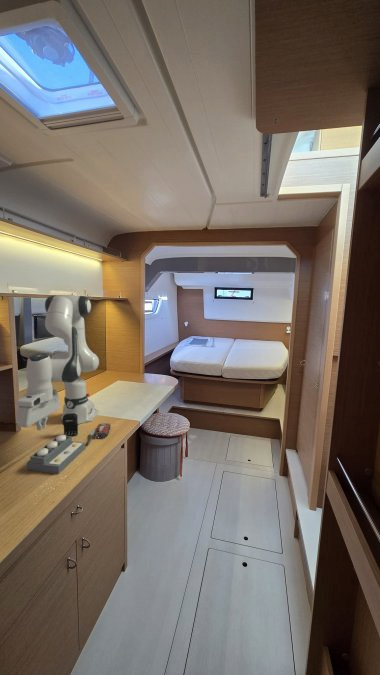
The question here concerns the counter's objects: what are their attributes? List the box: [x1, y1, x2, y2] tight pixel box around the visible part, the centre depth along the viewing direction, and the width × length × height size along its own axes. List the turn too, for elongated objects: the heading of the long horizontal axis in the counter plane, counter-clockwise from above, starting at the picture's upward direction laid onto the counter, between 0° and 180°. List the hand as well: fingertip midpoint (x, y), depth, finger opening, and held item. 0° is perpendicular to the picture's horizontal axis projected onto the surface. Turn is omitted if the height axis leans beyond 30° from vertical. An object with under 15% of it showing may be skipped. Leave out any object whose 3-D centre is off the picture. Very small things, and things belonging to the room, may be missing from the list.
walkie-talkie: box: [86, 423, 111, 446], centre depth 137 cm, size 9×4×20 cm
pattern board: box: [26, 436, 86, 475], centre depth 116 cm, size 19×14×6 cm
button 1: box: [36, 447, 48, 457], centre depth 110 cm, size 4×4×2 cm
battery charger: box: [62, 413, 79, 437], centre depth 136 cm, size 7×4×11 cm, turn 99°
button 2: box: [55, 434, 66, 443], centre depth 122 cm, size 4×4×2 cm
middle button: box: [46, 440, 58, 450], centre depth 116 cm, size 4×4×2 cm
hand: (41, 428), depth 108 cm, fingers closed
